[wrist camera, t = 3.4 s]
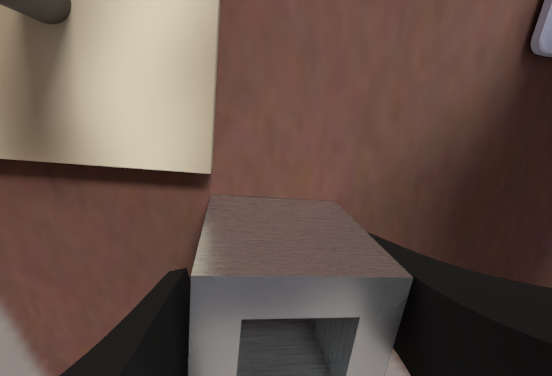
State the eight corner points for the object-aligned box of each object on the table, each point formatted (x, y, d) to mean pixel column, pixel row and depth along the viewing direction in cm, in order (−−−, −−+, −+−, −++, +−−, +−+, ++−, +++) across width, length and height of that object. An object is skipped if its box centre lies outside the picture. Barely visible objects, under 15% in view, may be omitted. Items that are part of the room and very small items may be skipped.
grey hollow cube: (334, 201, 11) (413, 277, 6) (316, 302, 13) (368, 429, 8) (210, 194, 10) (190, 275, 5) (205, 303, 12) (185, 447, 7)
